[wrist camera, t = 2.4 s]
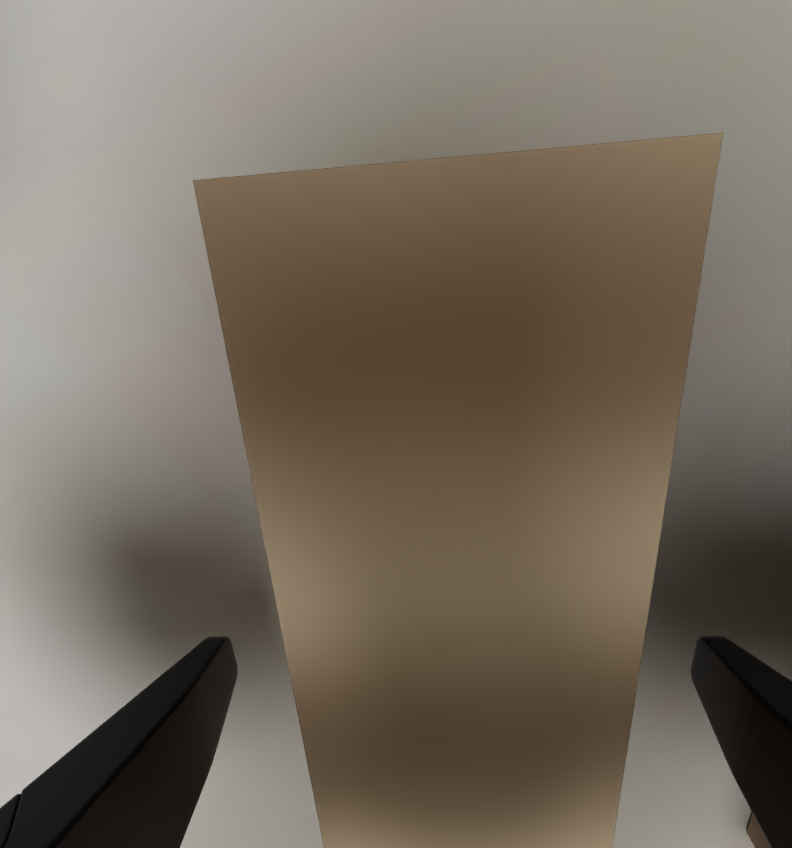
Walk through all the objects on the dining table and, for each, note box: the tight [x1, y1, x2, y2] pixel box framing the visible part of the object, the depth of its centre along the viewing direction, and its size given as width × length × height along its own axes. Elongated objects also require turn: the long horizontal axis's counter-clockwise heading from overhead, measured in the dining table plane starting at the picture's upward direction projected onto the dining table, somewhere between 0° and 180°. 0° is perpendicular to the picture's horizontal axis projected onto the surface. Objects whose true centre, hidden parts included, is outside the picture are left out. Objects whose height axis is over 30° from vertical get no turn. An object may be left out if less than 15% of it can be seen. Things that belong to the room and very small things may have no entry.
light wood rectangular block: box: [193, 133, 723, 848], centre depth 9 cm, size 16×5×4 cm, turn 4°
